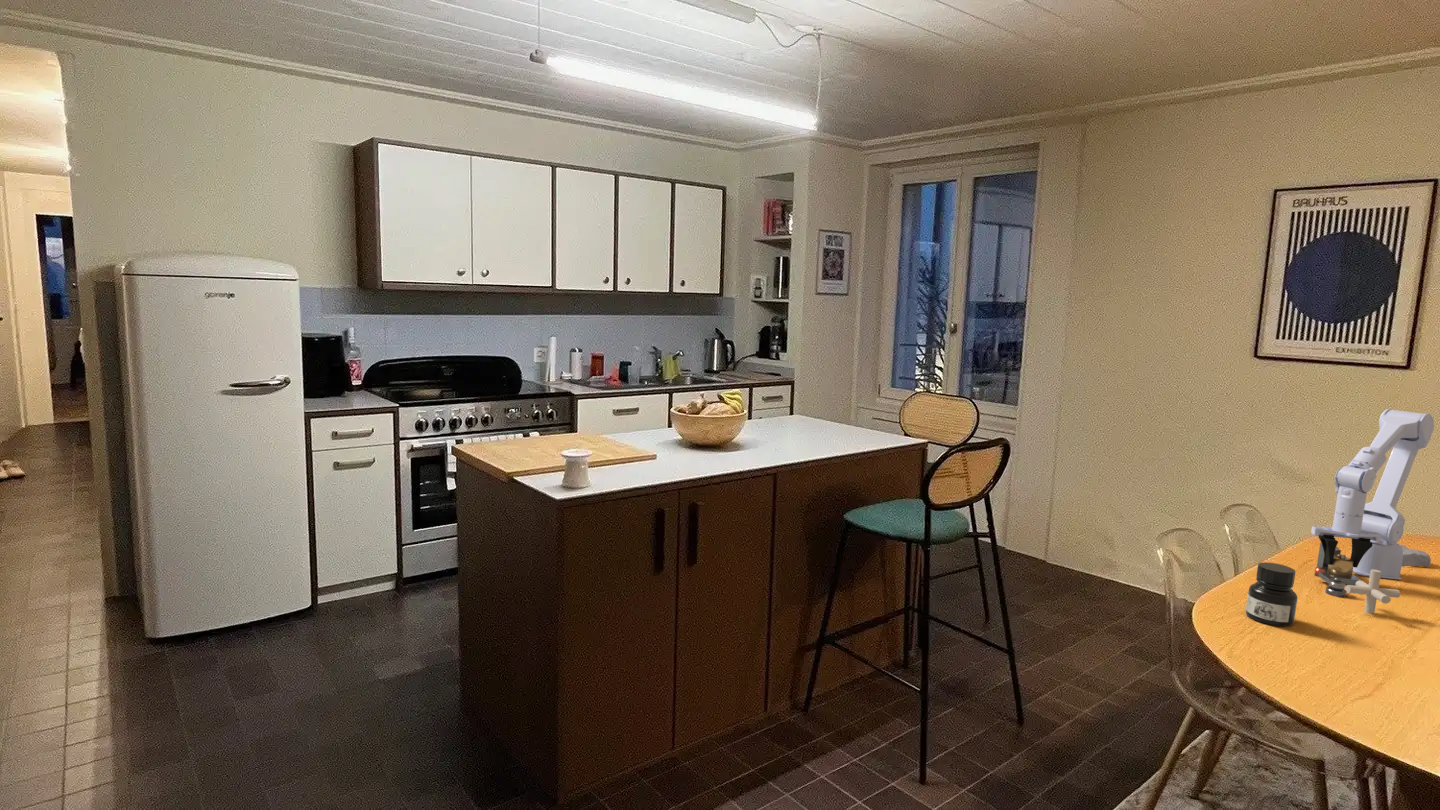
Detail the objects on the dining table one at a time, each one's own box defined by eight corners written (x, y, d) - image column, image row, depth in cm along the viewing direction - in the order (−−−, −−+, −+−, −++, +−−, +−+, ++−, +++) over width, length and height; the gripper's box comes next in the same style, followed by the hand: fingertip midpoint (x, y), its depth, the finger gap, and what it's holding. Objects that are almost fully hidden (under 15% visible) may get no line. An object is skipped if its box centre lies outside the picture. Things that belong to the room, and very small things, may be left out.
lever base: (1340, 592, 195) (1343, 576, 194) (1349, 598, 191) (1351, 582, 190) (1322, 590, 196) (1324, 574, 195) (1330, 595, 192) (1332, 580, 191)
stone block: (1398, 573, 217) (1435, 568, 216) (1396, 556, 216) (1433, 551, 216) (1363, 560, 229) (1398, 555, 228) (1362, 544, 228) (1397, 539, 228)
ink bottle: (1235, 615, 177) (1242, 563, 176) (1254, 607, 182) (1261, 557, 180) (1284, 631, 169) (1292, 577, 168) (1303, 623, 174) (1311, 571, 172)
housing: (1346, 572, 205) (1349, 553, 204) (1355, 578, 200) (1358, 559, 200) (1324, 569, 207) (1326, 550, 206) (1331, 575, 202) (1334, 556, 201)
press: (1337, 570, 211) (1341, 545, 210) (1361, 586, 199) (1365, 559, 198) (1307, 567, 213) (1311, 542, 212) (1329, 582, 201) (1333, 556, 200)
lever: (1324, 575, 202) (1325, 567, 202) (1346, 591, 191) (1348, 583, 191) (1310, 574, 203) (1311, 566, 202) (1332, 589, 192) (1333, 581, 192)
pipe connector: (1408, 623, 176) (1415, 580, 175) (1357, 618, 178) (1364, 575, 177) (1380, 606, 186) (1387, 565, 185) (1332, 601, 188) (1339, 561, 186)
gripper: (1323, 514, 199) (1315, 566, 201) (1391, 520, 195) (1382, 573, 197) (1310, 507, 206) (1303, 557, 208) (1375, 513, 202) (1367, 564, 204)
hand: (1340, 564), depth 203 cm, fingers closed on housing, 5 cm apart
